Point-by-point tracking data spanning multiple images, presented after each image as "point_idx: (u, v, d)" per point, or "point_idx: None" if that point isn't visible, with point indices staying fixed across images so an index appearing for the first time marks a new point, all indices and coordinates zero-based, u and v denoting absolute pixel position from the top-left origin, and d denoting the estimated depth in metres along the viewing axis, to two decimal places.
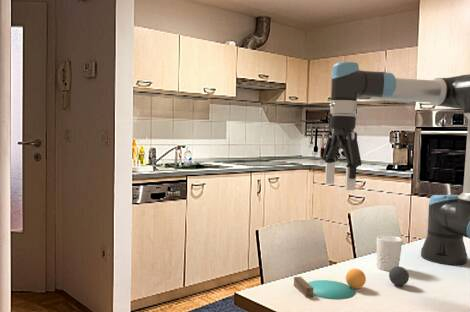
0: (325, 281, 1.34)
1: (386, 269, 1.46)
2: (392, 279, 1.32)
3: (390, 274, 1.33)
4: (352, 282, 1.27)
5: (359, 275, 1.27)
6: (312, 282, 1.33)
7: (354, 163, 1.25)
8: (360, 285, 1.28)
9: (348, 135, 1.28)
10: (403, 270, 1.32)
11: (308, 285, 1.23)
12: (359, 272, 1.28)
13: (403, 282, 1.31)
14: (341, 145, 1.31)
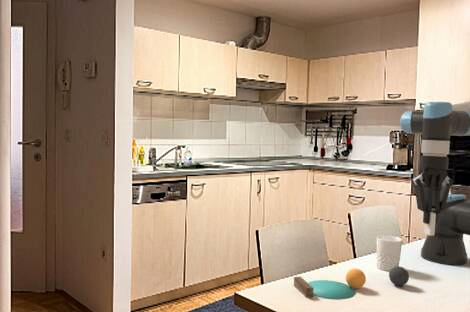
0: (325, 281, 1.34)
1: (386, 269, 1.46)
2: (392, 279, 1.32)
3: (390, 274, 1.33)
4: (352, 282, 1.27)
5: (359, 275, 1.27)
6: (312, 282, 1.33)
7: (418, 208, 1.34)
8: (360, 285, 1.28)
9: None
10: (403, 270, 1.32)
11: (308, 285, 1.23)
12: (359, 272, 1.28)
13: (403, 282, 1.31)
14: None
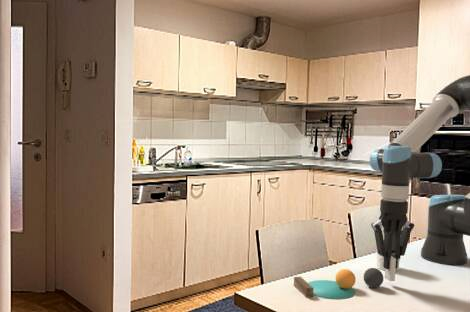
0: (325, 281, 1.34)
1: None
2: None
3: None
4: (346, 288, 1.27)
5: (344, 279, 1.26)
6: (312, 282, 1.33)
7: (378, 253, 1.32)
8: (353, 282, 1.27)
9: None
10: (373, 286, 1.29)
11: (308, 285, 1.23)
12: (341, 277, 1.27)
13: (379, 277, 1.29)
14: None
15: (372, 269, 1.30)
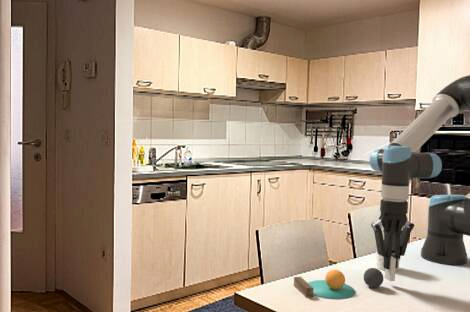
0: (325, 281, 1.34)
1: None
2: None
3: None
4: (343, 285, 1.27)
5: (334, 286, 1.26)
6: (312, 282, 1.33)
7: (378, 253, 1.32)
8: (341, 278, 1.26)
9: None
10: (373, 286, 1.29)
11: (308, 285, 1.23)
12: (331, 286, 1.26)
13: (379, 277, 1.29)
14: None
15: (372, 269, 1.30)
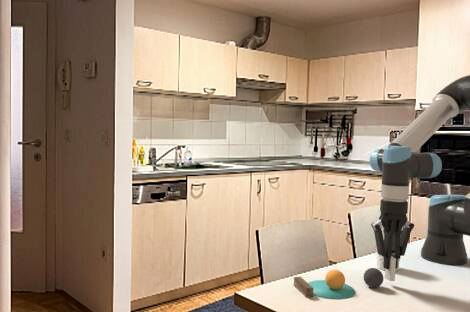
0: (325, 281, 1.34)
1: None
2: None
3: None
4: (343, 285, 1.27)
5: (334, 286, 1.26)
6: (312, 282, 1.33)
7: (378, 253, 1.32)
8: (341, 278, 1.26)
9: None
10: (373, 286, 1.29)
11: (308, 285, 1.23)
12: (331, 286, 1.26)
13: (379, 277, 1.29)
14: None
15: (372, 269, 1.30)
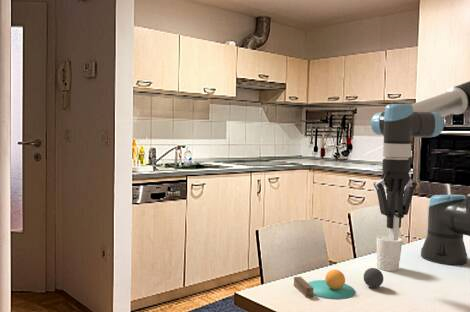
0: (325, 281, 1.34)
1: (386, 269, 1.46)
2: None
3: None
4: (343, 285, 1.27)
5: (334, 286, 1.26)
6: (312, 282, 1.33)
7: (381, 213, 1.31)
8: (341, 278, 1.26)
9: None
10: (373, 286, 1.29)
11: (308, 285, 1.23)
12: (331, 286, 1.26)
13: (379, 277, 1.29)
14: None
15: (372, 269, 1.30)
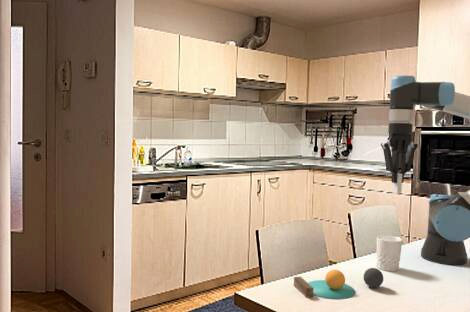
0: (325, 281, 1.34)
1: (386, 269, 1.46)
2: None
3: None
4: (343, 285, 1.27)
5: (334, 286, 1.26)
6: (312, 282, 1.33)
7: (387, 170, 1.53)
8: (341, 278, 1.26)
9: None
10: (373, 286, 1.29)
11: (308, 285, 1.23)
12: (331, 286, 1.26)
13: (379, 277, 1.29)
14: None
15: (372, 269, 1.30)
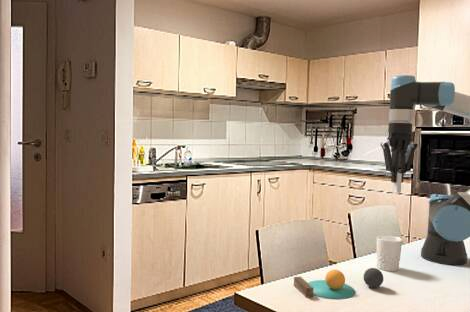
0: (325, 281, 1.34)
1: (386, 269, 1.46)
2: None
3: None
4: (343, 285, 1.27)
5: (334, 286, 1.26)
6: (312, 282, 1.33)
7: (386, 169, 1.53)
8: (341, 278, 1.26)
9: None
10: (373, 286, 1.29)
11: (308, 285, 1.23)
12: (331, 286, 1.26)
13: (379, 277, 1.29)
14: None
15: (372, 269, 1.30)
